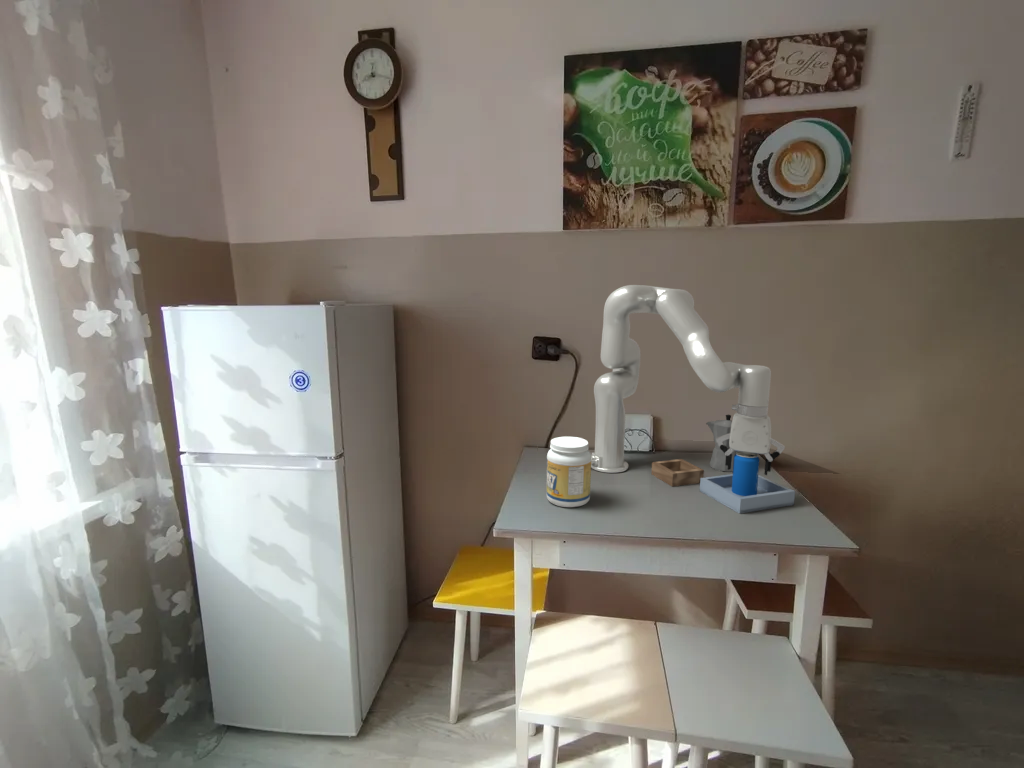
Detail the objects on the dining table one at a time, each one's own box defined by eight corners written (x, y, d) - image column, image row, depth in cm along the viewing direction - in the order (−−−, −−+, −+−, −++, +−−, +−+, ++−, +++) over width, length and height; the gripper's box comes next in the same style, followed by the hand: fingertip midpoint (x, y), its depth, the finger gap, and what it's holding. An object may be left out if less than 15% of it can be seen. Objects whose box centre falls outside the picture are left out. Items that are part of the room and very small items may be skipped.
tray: (739, 513, 132) (740, 499, 131) (699, 491, 147) (700, 478, 146) (793, 505, 137) (795, 491, 136) (749, 484, 152) (750, 471, 151)
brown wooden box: (672, 486, 150) (672, 473, 150) (651, 474, 161) (651, 462, 160) (703, 482, 154) (703, 470, 153) (680, 470, 164) (681, 458, 163)
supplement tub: (539, 495, 144) (539, 437, 141) (577, 489, 149) (578, 433, 146) (558, 511, 133) (559, 450, 130) (598, 505, 137) (600, 445, 134)
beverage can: (753, 501, 137) (756, 458, 135) (728, 495, 142) (731, 454, 140) (759, 494, 142) (762, 453, 140) (735, 488, 146) (737, 449, 144)
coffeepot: (702, 469, 165) (706, 416, 162) (703, 460, 174) (707, 409, 171) (754, 475, 159) (759, 420, 156) (753, 466, 168) (757, 414, 165)
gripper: (716, 410, 138) (712, 470, 141) (788, 417, 130) (782, 480, 133) (719, 404, 145) (715, 462, 148) (788, 411, 137) (782, 471, 140)
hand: (747, 470), depth 141 cm, fingers open, 9 cm apart
